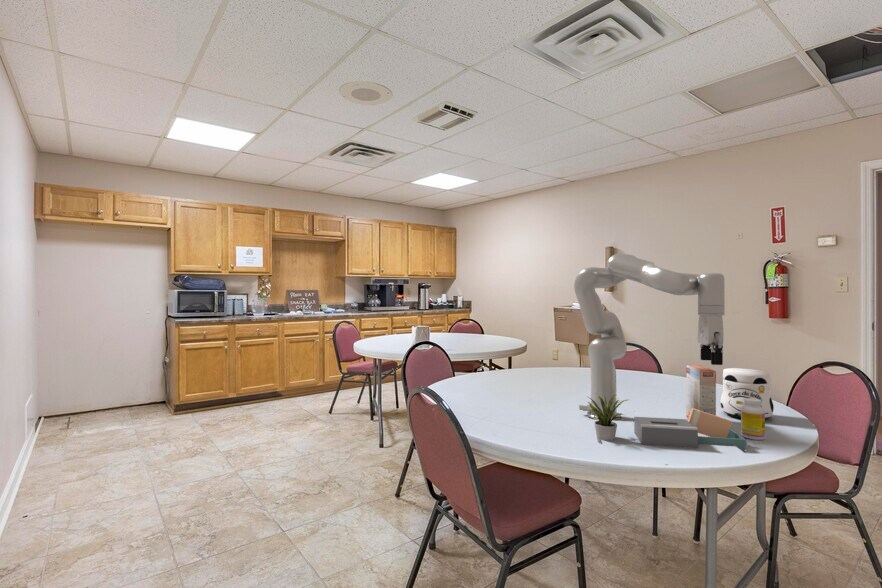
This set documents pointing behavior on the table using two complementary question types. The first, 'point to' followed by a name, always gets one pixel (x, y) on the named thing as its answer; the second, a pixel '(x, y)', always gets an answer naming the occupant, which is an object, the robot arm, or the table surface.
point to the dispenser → (666, 432)
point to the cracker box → (701, 389)
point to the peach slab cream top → (709, 424)
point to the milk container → (745, 390)
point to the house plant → (605, 419)
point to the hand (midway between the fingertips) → (711, 362)
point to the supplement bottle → (752, 419)
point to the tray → (725, 440)
